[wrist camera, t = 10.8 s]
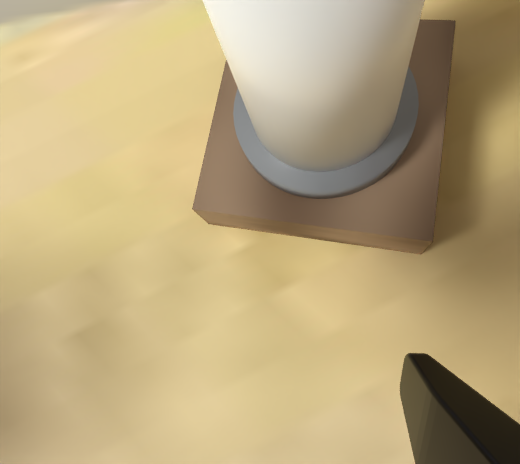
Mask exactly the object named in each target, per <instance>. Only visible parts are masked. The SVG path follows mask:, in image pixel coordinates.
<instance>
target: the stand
mask: <svg viewBox="0 0 520 464" xmlns="http://www.w3.org/2000/svg"><path fill="white" fill-rule="evenodd" d="M454 31H455V21H451V20H420V21H419V25H418V29H417V33H416V37H415V42H414V46H413V50H412V54H411V58H410V62H409V68H410V70H411V71H412V73H413V76H414V79H415V82H416V85H417V90H418V101H419V107H418V116H417V120H416V124H415V128H414V130H413V133H412V136H411V139H410V141H409V144H408V146H407V148H406V150H405V152H404V154H403V155H402V157H401V159H400V160H399V161H398V162H397V164H396V165H395V166H394V167H393V169H392V170H390V171H389V172H388V173H387V174H386V175H385V176H384V177H383V178H381V179H380V180H379V181H377V182H376V183H375V184H373V185H371V186H369V187H367V188H365V189H364V190H361V191H359V192H356V193H354V194H350V195H347V196H343V197H338V198H330V199H313V198H304V197H300V196H296V195H292V194H290V193H287V192H285V191H282V190H280V189H278V188H277V187H275V186H273V185H272V184H270V183H269V182H267V181H266V180H265V179H264V178H263V177H262V176H261V175H259V174H258V173H257V172H256V170H255V169H254V168H253V166H252V165H251V164H250V162H249V160H248V159H247V157H246V155H245V153H244V151H243V149H242V147H241V145H240V143H239V140H238V138H237V135H236V131H235V126H234V117H233V111H234V101H235V96H236V92H237V89H238V87H237V85H236V82H235V80H234V77H233V75H232V72H231V70H230V67H229V65H228V62H227V60H226V63H225V68H224V72H223V76H222V81H221V85H220V89H219V94H218V98H217V103H216V107H215V111H214V116H213V120H212V125H211V129H210V133H209V138H208V142H207V147H206V151H205V155H204V160H203V164H202V168H201V173H200V177H199V182H198V186H197V190H196V195H195V199H194V204H193V208H192V209H193V210H194V211H195V212H196V213H197V214H198V215H199V216H201V217H202V218H203V219H204V220H205V221H206V222H207V223H208V224H213V225H220V226H227V227H234V228H241V229H248V230H255V231H262V232H269V233H276V234H283V235H290V236H297V237H304V238H311V239H318V240H325V241H333V242H340V243H347V244H354V245H361V246H368V247H375V248H382V249H389V250H396V251H403V252H410V253H417V254H422V253H423V252H424V251H425V249H426V248H427V247H428V246H429V245H430V244H431V243H432V242H433V234H434V224H435V215H436V205H437V195H438V186H439V176H440V166H441V157H442V147H443V137H444V128H445V118H446V108H447V98H448V89H449V79H450V69H451V60H452V50H453V40H454Z"/></svg>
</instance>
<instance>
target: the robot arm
mask: <svg viewBox="0 0 520 464" xmlns="http://www.w3.org/2000/svg"><path fill="white" fill-rule="evenodd" d="M400 396H401V401H402V405H403V410H404V414H405V419H406V423H407V428H408V433H409V437H410V442H411V446H412V451H413V455H414V459H415V464H520V424H519V423H517V422H516V421H515V420H513V419H512V418H511V417H509V416H508V415H507V414H506V413H504V412H503V411H502V410H500V409H499V408H498V407H496V406H495V405H494V404H492V403H491V402H490V401H488V400H487V399H486V398H485V397H483V396H482V395H481V394H479V393H478V392H477V391H475V390H474V389H473V388H471V387H470V386H469V385H467V384H466V383H465V382H464V381H462V380H461V379H460V378H458V377H457V376H456V375H454V374H453V373H452V372H450V371H449V370H448V369H446V368H445V367H444V366H443V365H441V364H440V363H439V362H437V361H436V360H435V359H433V358H432V357H431V356H429V355H428V354H424V353H408V354H407V355H406V356H405V359H404V364H403V370H402V376H401V382H400Z"/></svg>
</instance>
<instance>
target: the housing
mask: <svg viewBox="0 0 520 464" xmlns="http://www.w3.org/2000/svg"><path fill="white" fill-rule="evenodd" d="M424 1H425V0H203V3H204V5H205V7H206V10H207V12H208V15H209V17H210V20H211V22H212V25H213V27H214V30H215V32H216V35H217V37H218V40H219V42H220V45H221V47H222V50H223V52H224V55H225V57H226V60H227V62H228V65H229V67H230V70H231V72H232V75H233V77H234V80H235V82H236V85H237V87H238V89H237V92H236V96H235V101H234V111H233V117H234V126H235V131H236V135H237V138H238V140H239V143H240V145H241V147H242V149H243V151H244V153H245V155H246V157H247V159H248V160H249V162H250V164H251V165H252V166H253V168H254V169H255V170H256V172H257V173H258V174H259V175H261V176H262V177H263V178H264V179H265V180H266V181H267V182H269V183H270V184H272V185H273V186H275V187H277V188H278V189H280V190H282V191H285V192H287V193H290V194H292V195H296V196H300V197H304V198H313V199H330V198H338V197H343V196H347V195H350V194H354V193H356V192H359V191H361V190H364V189H365V188H367V187H369V186H371V185H373V184H375V183H376V182H377V181H379V180H380V179H381V178H383V177H384V176H385V175H386V174H387V173H388V172H389V171H390V170H392V169H393V167H394V166H395V165H396V164H397V162H398V161H399V160H400V159H401V157H402V155H403V154H404V152H405V150H406V148H407V146H408V144H409V141H410V139H411V136H412V133H413V130H414V128H415V124H416V120H417V116H418V107H419V101H418V90H417V85H416V82H415V79H414V76H413V73H412V71H411V70H410V68H409V62H410V58H411V54H412V50H413V46H414V42H415V37H416V33H417V29H418V25H419V21H420V17H421V13H422V9H423V5H424Z"/></svg>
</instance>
